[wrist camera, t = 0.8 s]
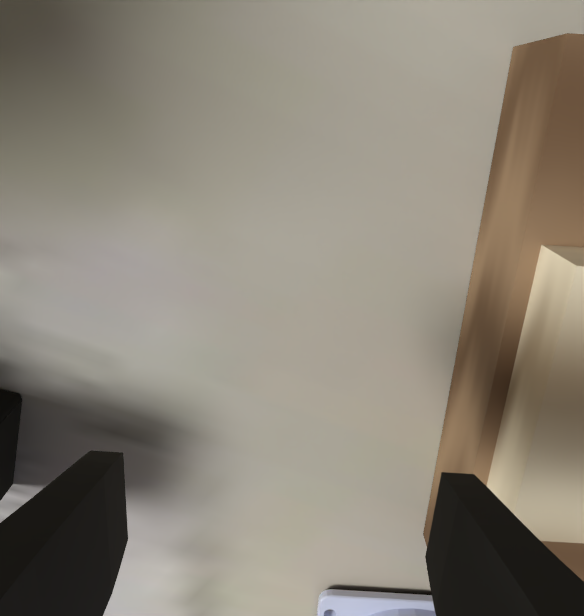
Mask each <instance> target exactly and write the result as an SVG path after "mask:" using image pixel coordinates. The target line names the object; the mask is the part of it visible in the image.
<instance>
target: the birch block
mask: <svg viewBox="0 0 584 616" xmlns="http://www.w3.org/2000/svg"><path fill="white" fill-rule="evenodd" d="M487 487H488V488H489V489H490V490H491V491H492V492H493V493H494V494H495V495H496V496H497V498H498V499H499V500H500V501H501V502H502V503H503V504H504V505H505V506H506V507H507V508H508V509H509V510H510V511H511V512H512V513H513V514H514V515H515V516H516V517H517V518H518V519H519V520H520V521H521V522H522V523H523V524H524V525H525V526H526V527H527V528H528V529H529V530H530V531H531V532H532V533H533V534H534V535H535V536H536V537H537V538H538V539H539V540H540V541H551V542H568V543H584V247H570V246H554V245H541V249H540V253H539V258H538V262H537V266H536V271H535V275H534V280H533V284H532V288H531V293H530V297H529V302H528V306H527V310H526V315H525V319H524V324H523V328H522V332H521V337H520V341H519V346H518V350H517V354H516V359H515V363H514V368H513V372H512V376H511V381H510V385H509V389H508V394H507V398H506V403H505V407H504V411H503V416H502V420H501V425H500V429H499V433H498V438H497V442H496V447H495V451H494V455H493V460H492V464H491V469H490V473H489V477H488V482H487Z"/></svg>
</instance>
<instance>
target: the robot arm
mask: <svg viewBox="0 0 584 616" xmlns="http://www.w3.org/2000/svg"><path fill="white" fill-rule="evenodd" d="M127 541H128V532H127V515H126V497H125V479H124V461H123V453H119V452H102V451H90V452H88V453H87V454H86V455H85V456H83V457H82V458H81V459H79V460H78V461H77V462H76V463H75V464H73V465H72V466H71V467H70V468H68V469H67V470H66V471H65V472H63V473H62V474H61V475H60V476H59V477H57V478H56V479H55V480H54V481H52V482H51V483H50V484H49V485H48V486H46V487H45V488H44V489H43V490H41V491H40V492H39V493H38V494H36V495H35V496H34V497H33V498H32V499H30V500H29V501H28V502H26V503H25V504H24V505H23V506H21V507H20V508H19V509H18V510H16V511H15V512H14V513H12V514H11V515H10V516H9V517H7V518H6V519H5V520H4V521H2V522H1V523H0V616H103V614H104V611H105V609H106V606H107V604H108V602H109V599H110V597H111V594H112V592H113V588H114V585H115V582H116V578H117V575H118V572H119V569H120V565H121V562H122V558H123V555H124V551H125V548H126V544H127ZM426 563H427V570H428V576H429V582H430V588H431V593H432V595H420V594H403V593H386V592H369V591H353V590H336V589H329V590H325V591H323V592H322V593H321V594H320V596H319V600H318V610H317V616H584V581H583V580H581V579H580V578H579V577H578V576H577V575H576V574H575V573H574V572H573V571H572V570H571V569H569V568H568V567H567V566H566V565H565V564H564V563H563V562H562V561H561V560H560V559H559V558H558V557H557V556H556V555H555V554H554V553H552V552H551V551H550V550H549V549H548V548H547V547H546V546H545V545H544V544H543V543H542V542H541V541H540V540H539V539H538V538H537V537H536V536H535V535H534V534H533V533H532V532H531V531H530V530H529V529H528V528H527V527H526V526H525V525H524V524H523V523H522V522H521V521H520V520H519V519H518V518H517V517H516V516H515V515H514V514H513V513H512V512H511V511H510V510H509V509H508V508H507V507H506V506H505V505H504V504H503V503H502V502H501V501H500V500H499V499H498V498H497V496H496V495H495V494H494V493H493V492H492V491H491V490H490V489H489V488H488V487H487V486H486V485H485V484H484V483H483V482H482V481H481V480H480V479H479V478H478V477H477V476H475V475H474V474H464V473H448V472H441V478H440V483H439V488H438V493H437V499H436V504H435V509H434V515H433V520H432V525H431V530H430V536H429V541H428V546H427V551H426ZM329 609H331V610H329Z"/></svg>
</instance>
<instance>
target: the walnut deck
mask: <svg viewBox="0 0 584 616" xmlns="http://www.w3.org/2000/svg"><path fill="white" fill-rule="evenodd" d="M541 245H554V246H570V247H584V34H569V33H567V34H563V35H559V36H555V37H551V38H547V39H543V40H539V41H535V42H531V43H527V44H523V45H519V46H515V47H513V51H512V57H511V62H510V68H509V73H508V78H507V84H506V89H505V95H504V100H503V106H502V111H501V116H500V122H499V127H498V133H497V138H496V143H495V149H494V154H493V160H492V165H491V170H490V176H489V181H488V187H487V192H486V198H485V203H484V208H483V214H482V219H481V225H480V230H479V235H478V241H477V246H476V252H475V257H474V262H473V268H472V273H471V279H470V284H469V290H468V295H467V300H466V306H465V311H464V317H463V322H462V327H461V333H460V338H459V344H458V349H457V354H456V360H455V365H454V371H453V376H452V382H451V387H450V392H449V398H448V403H447V409H446V414H445V419H444V425H443V430H442V436H441V441H440V447H439V452H438V457H437V463H436V468H435V474H434V479H433V484H432V490H431V495H430V501H429V506H428V511H427V517H426V522H425V528H424V533H423V534H424V538H425V541H426V545H427V546H428V541H429V536H430V530H431V525H432V520H433V515H434V509H435V504H436V499H437V493H438V488H439V483H440V478H441V472H448V473H464V474H474V475H475V476H477V477H478V478H479V479H480V480H481V481H482V482H483V483H484V484H485V485H486V486H487V482H488V477H489V473H490V469H491V464H492V460H493V455H494V451H495V447H496V442H497V438H498V433H499V429H500V425H501V420H502V416H503V411H504V407H505V403H506V398H507V394H508V389H509V385H510V381H511V376H512V372H513V368H514V363H515V359H516V354H517V350H518V346H519V341H520V337H521V332H522V328H523V324H524V319H525V315H526V310H527V306H528V302H529V297H530V293H531V288H532V284H533V280H534V275H535V271H536V266H537V262H538V258H539V253H540V249H541ZM541 542H542V543H543V544H544V545H545V546H546V547H547V548H548V549H549V550H550V551H551V552H552V553H554V554H555V555H556V556H557V557H558V558H559V559H560V560H561V561H562V562H563V563H564V564H565V565H566V566H567V567H568V568H569V569H571V570H572V571H573V572H574V573H575V574H576V575H577V576H578V577H579V578H580V579H581V580H583V581H584V543H568V542H551V541H541Z"/></svg>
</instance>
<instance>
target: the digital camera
mask: <svg viewBox="0 0 584 616" xmlns="http://www.w3.org/2000/svg"><path fill="white" fill-rule="evenodd" d="M18 403H19V404H18ZM21 403H22V398H21V396H20V395H19V394H17V393H13V392H9V391H5V390H1V389H0V500H1V499H2V498H3V496H4V495H5V494H6V492H7V491H8V490H9V488H10V487H11V486H12V484H13V477H14V467H15V458H16V449H17V440H18V431H19V422H20V412H21ZM17 404H18V405H17ZM16 405H17V406H16ZM15 406H16V407H15ZM9 413H10V414H9ZM8 414H9V415H8ZM7 415H8V416H7Z"/></svg>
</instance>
